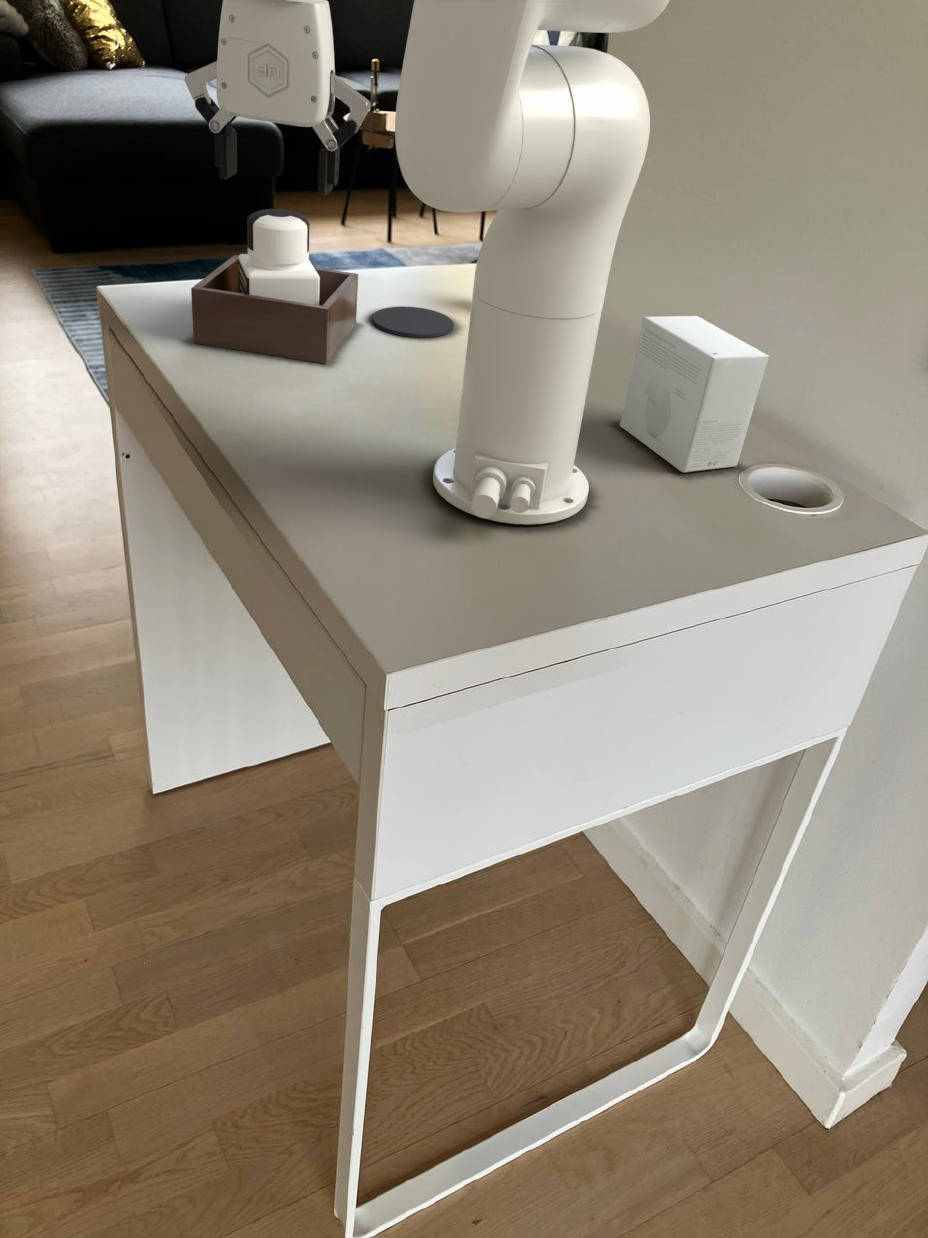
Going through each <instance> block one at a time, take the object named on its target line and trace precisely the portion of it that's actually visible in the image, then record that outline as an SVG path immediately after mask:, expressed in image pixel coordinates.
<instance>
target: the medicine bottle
mask: <svg viewBox="0 0 928 1238" xmlns="http://www.w3.org/2000/svg"><path fill="white" fill-rule="evenodd" d="M310 226H311V225H310V222H309V220H308V218H307V217H305V216H303V215H301V214H299V213H298V212H295V211H292V210H288V209H278V208H268V209H259V210H257V211H254V212H253V213H251V214H249V216H248V217H247V219H246V228H247V229H246V232H247V233H246V234H247V235H246V236H247V241H246V242H247V253H240V254H239V255H238V256H239V257H238V269H239V293H242V294H248V295H255V296H261V297H268V298H274V299H281V300H287V301H294V302H300V303H306V304H313V305H319V288H320V277H319V275H318V273H317V272H316V270H315V269H314V267H315V266H314V265H313V264H312V262H311V260H310Z"/></svg>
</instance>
